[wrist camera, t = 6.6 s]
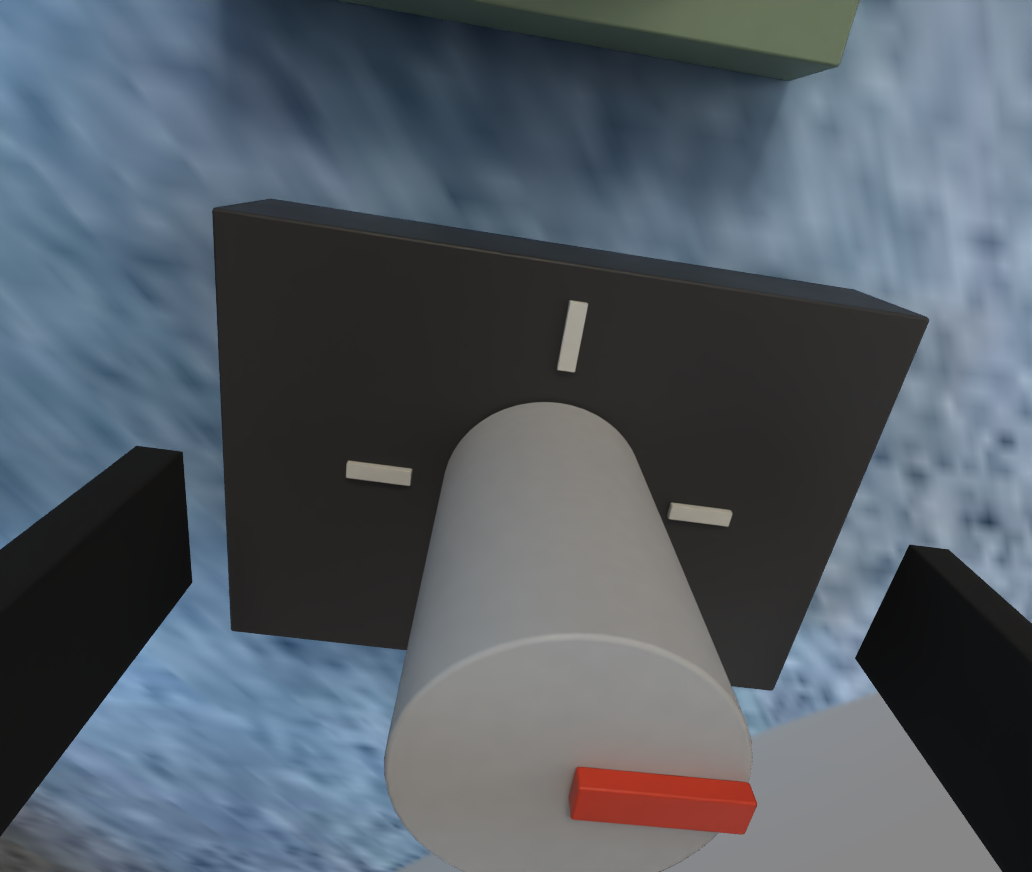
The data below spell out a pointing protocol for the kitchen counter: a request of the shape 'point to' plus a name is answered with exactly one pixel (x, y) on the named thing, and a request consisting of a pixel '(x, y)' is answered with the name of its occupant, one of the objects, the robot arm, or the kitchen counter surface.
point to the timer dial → (560, 666)
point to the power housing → (672, 28)
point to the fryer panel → (520, 380)
